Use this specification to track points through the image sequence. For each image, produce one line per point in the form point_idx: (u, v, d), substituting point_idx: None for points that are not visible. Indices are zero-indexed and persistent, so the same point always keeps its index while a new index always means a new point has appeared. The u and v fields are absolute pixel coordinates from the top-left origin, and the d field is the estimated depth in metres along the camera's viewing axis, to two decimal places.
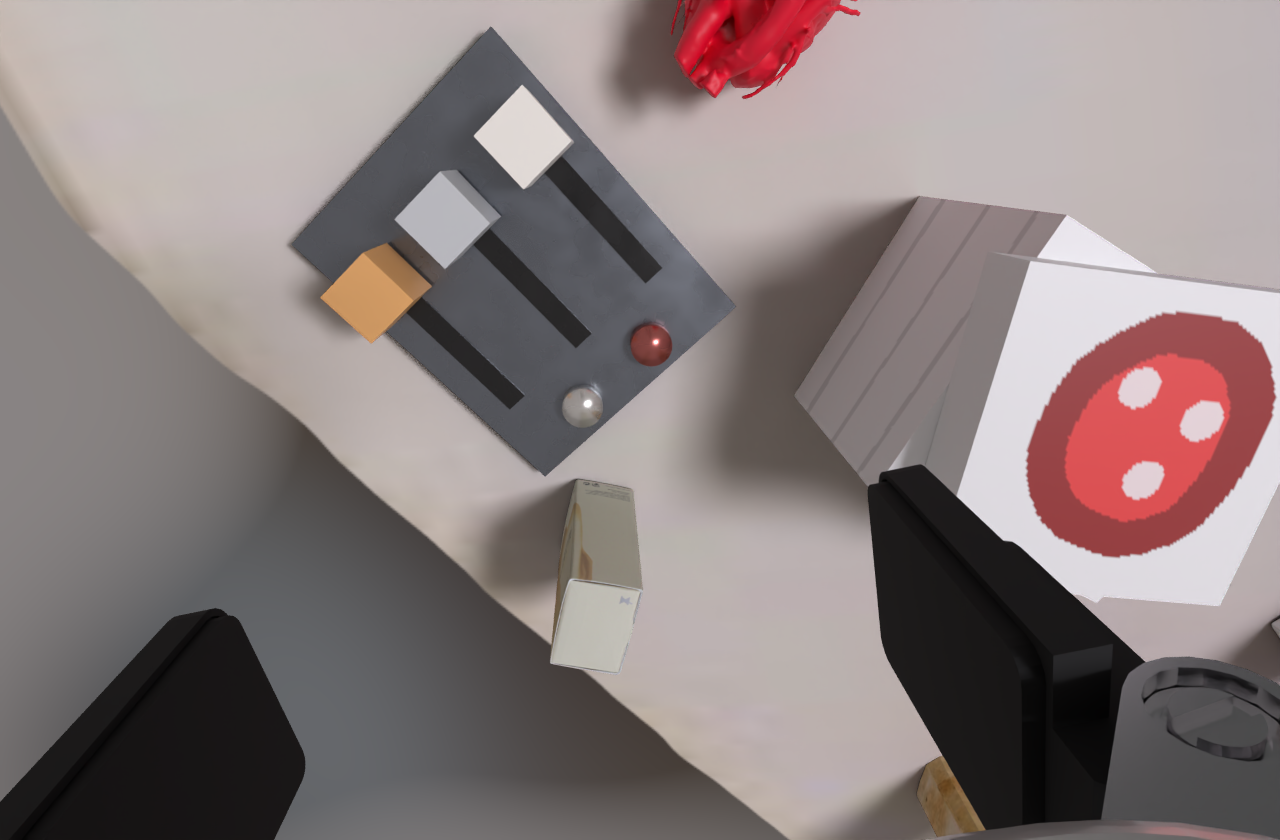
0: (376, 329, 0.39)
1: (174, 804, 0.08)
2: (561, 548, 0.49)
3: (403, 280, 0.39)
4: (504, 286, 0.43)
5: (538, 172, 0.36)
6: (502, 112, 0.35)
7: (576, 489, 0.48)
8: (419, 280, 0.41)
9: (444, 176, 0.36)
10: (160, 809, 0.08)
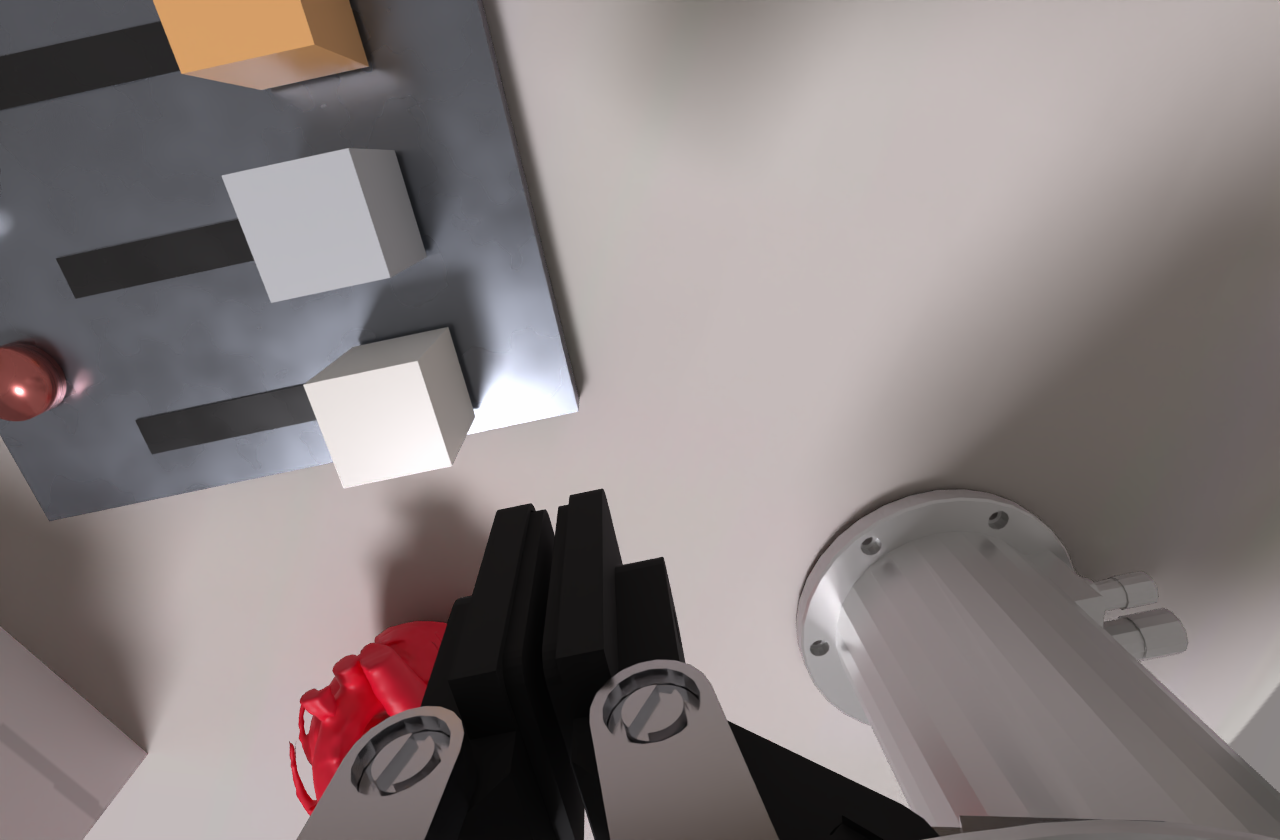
0: None
1: None
2: None
3: (250, 70, 0.19)
4: (215, 208, 0.24)
5: (319, 419, 0.21)
6: (428, 420, 0.21)
7: None
8: (270, 82, 0.21)
9: (380, 278, 0.20)
10: None
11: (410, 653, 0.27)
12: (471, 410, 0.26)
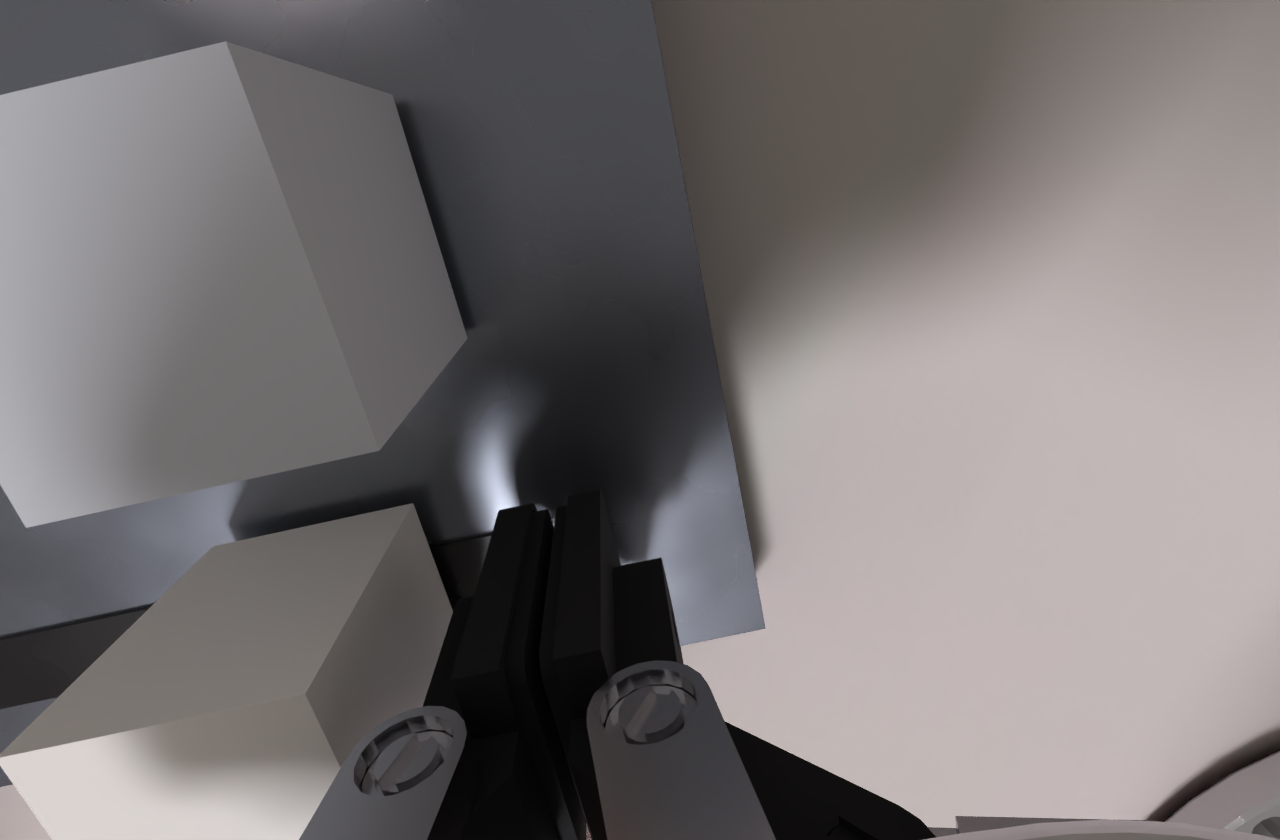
0: None
1: None
2: None
3: None
4: None
5: (55, 831, 0.08)
6: None
7: None
8: None
9: (348, 452, 0.07)
10: None
11: None
12: None
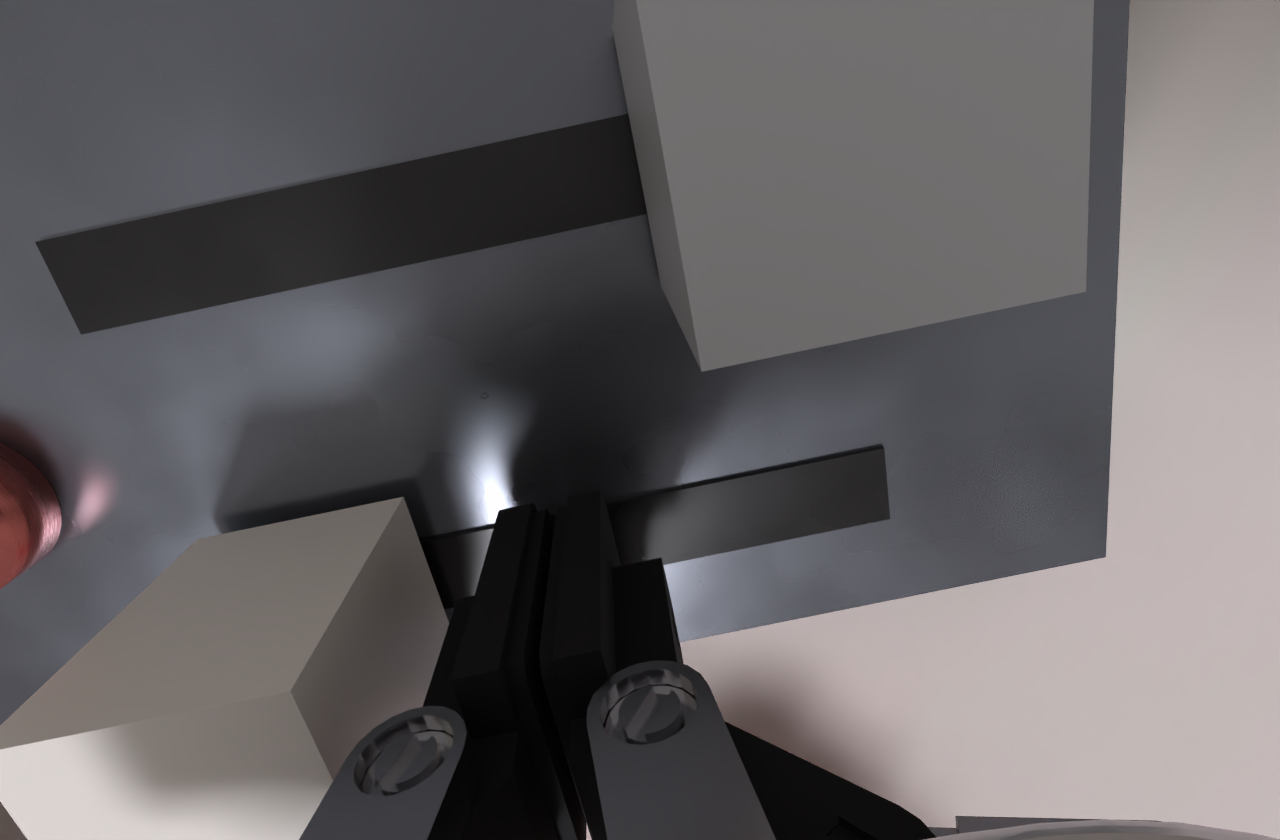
0: None
1: None
2: None
3: None
4: (414, 123, 0.10)
5: (31, 831, 0.08)
6: None
7: None
8: None
9: (1045, 295, 0.06)
10: None
11: None
12: None
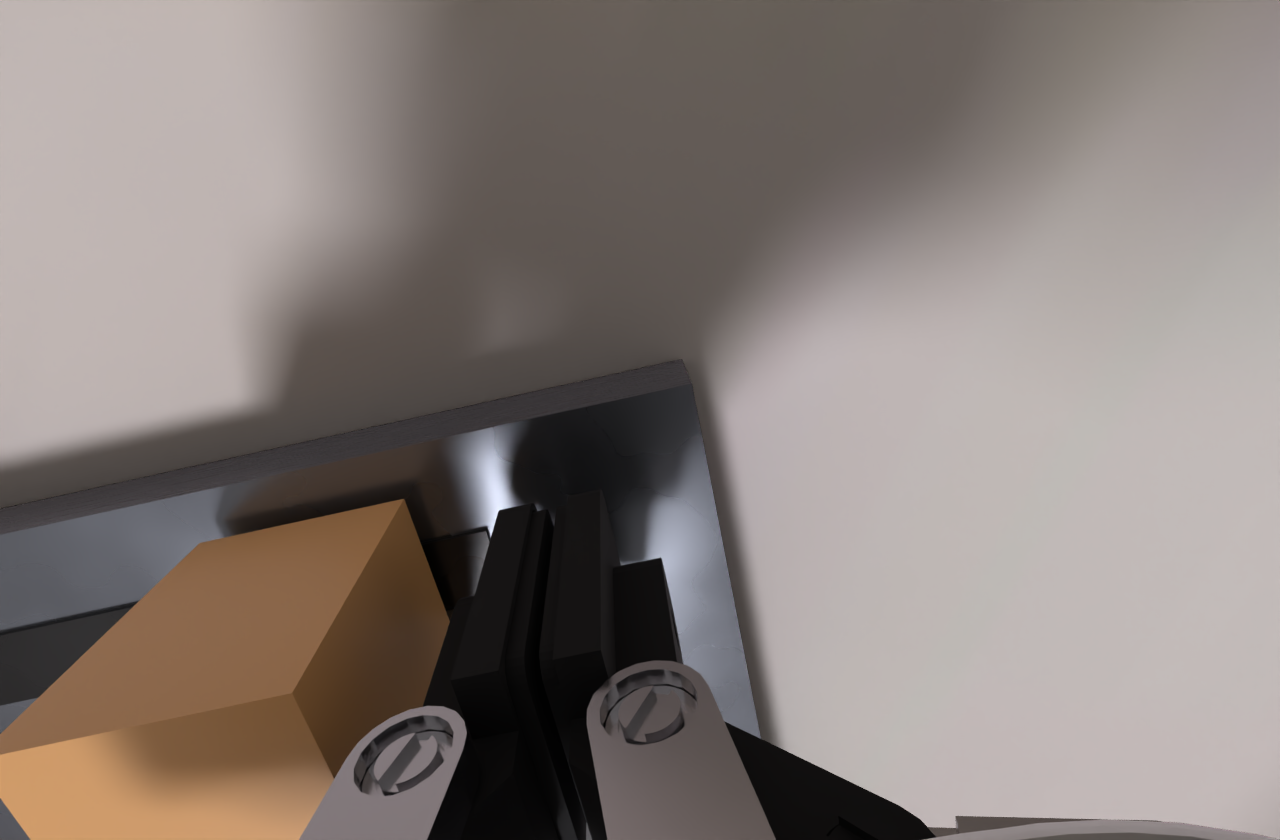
0: (41, 810, 0.08)
1: None
2: None
3: None
4: None
5: None
6: None
7: None
8: None
9: None
10: None
11: None
12: None
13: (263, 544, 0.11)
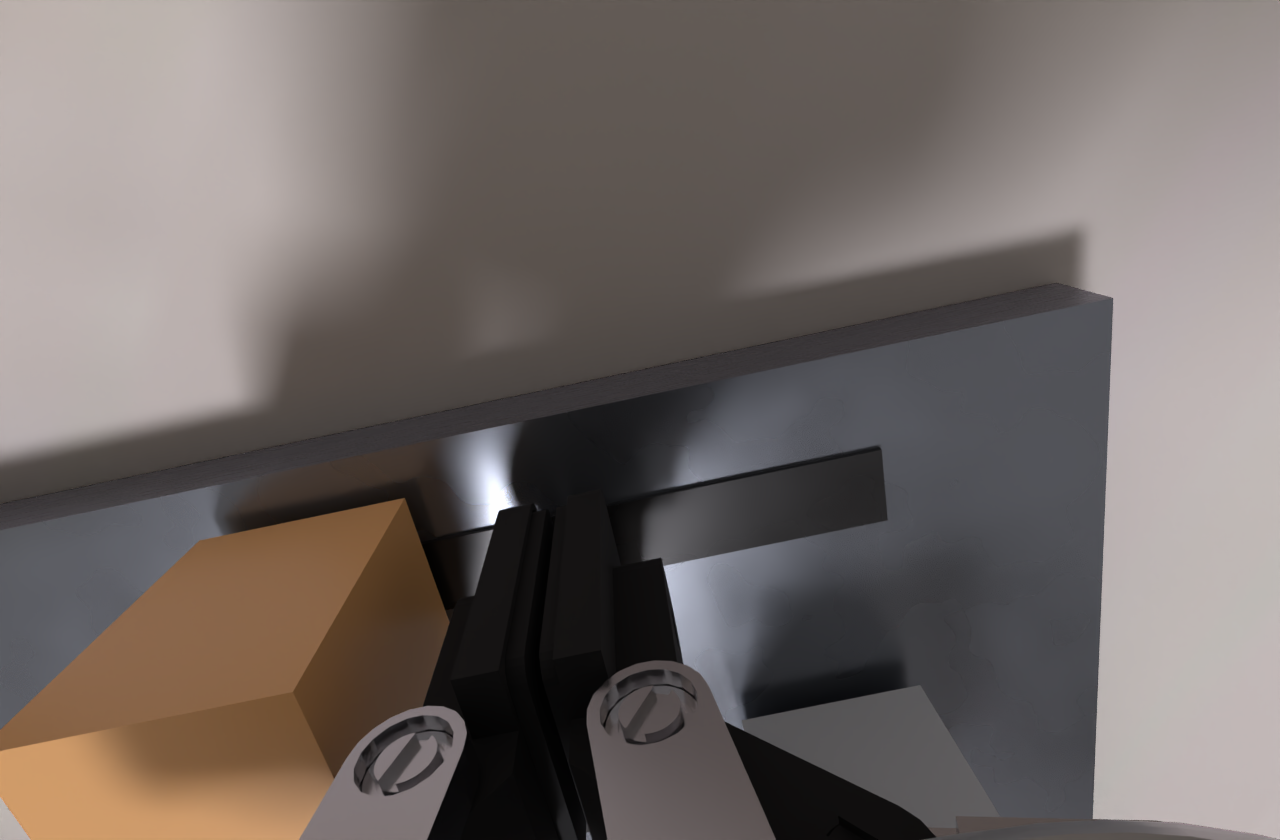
0: (40, 807, 0.08)
1: None
2: None
3: None
4: None
5: None
6: None
7: None
8: None
9: None
10: None
11: None
12: None
13: (263, 542, 0.11)
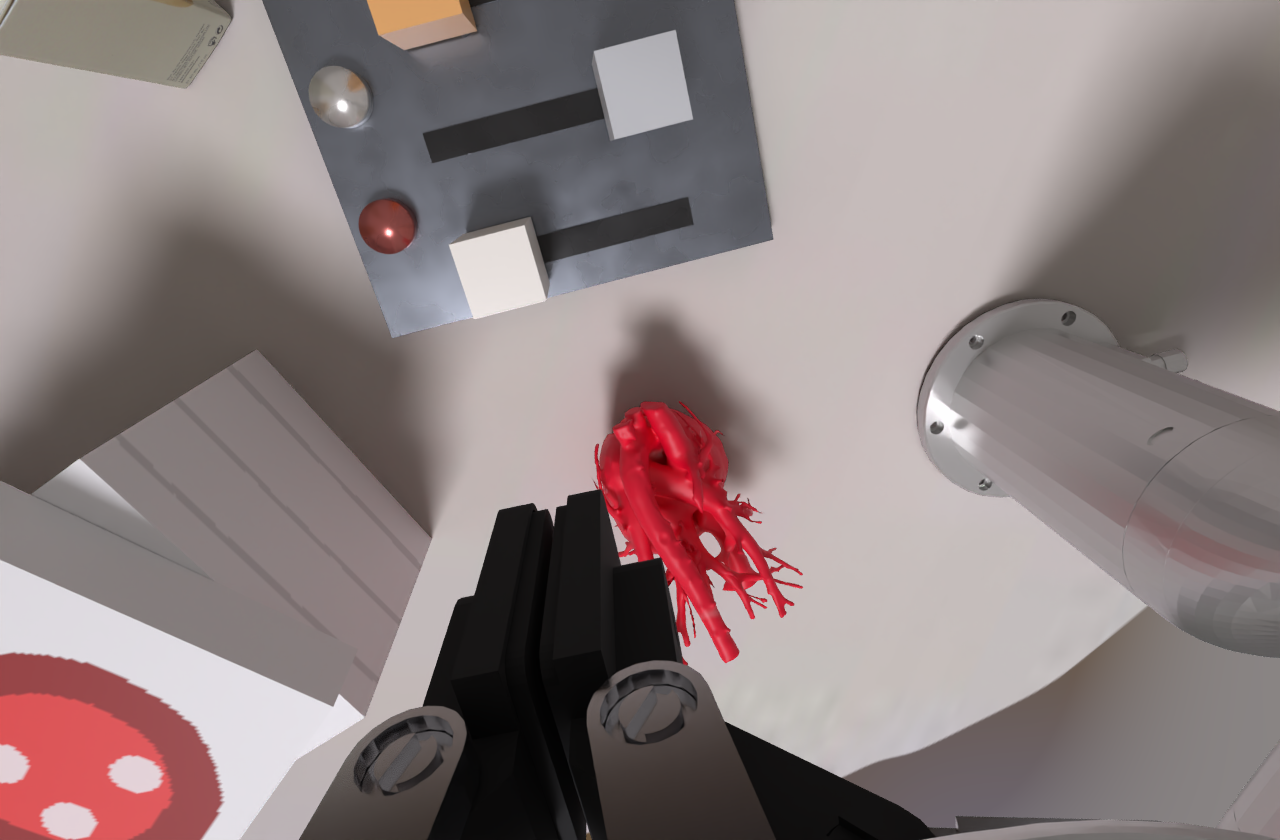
0: None
1: None
2: None
3: (414, 33, 0.29)
4: (534, 93, 0.34)
5: (458, 269, 0.32)
6: (531, 267, 0.32)
7: (215, 12, 0.31)
8: (414, 43, 0.32)
9: (685, 120, 0.30)
10: None
11: None
12: (548, 278, 0.36)
13: None
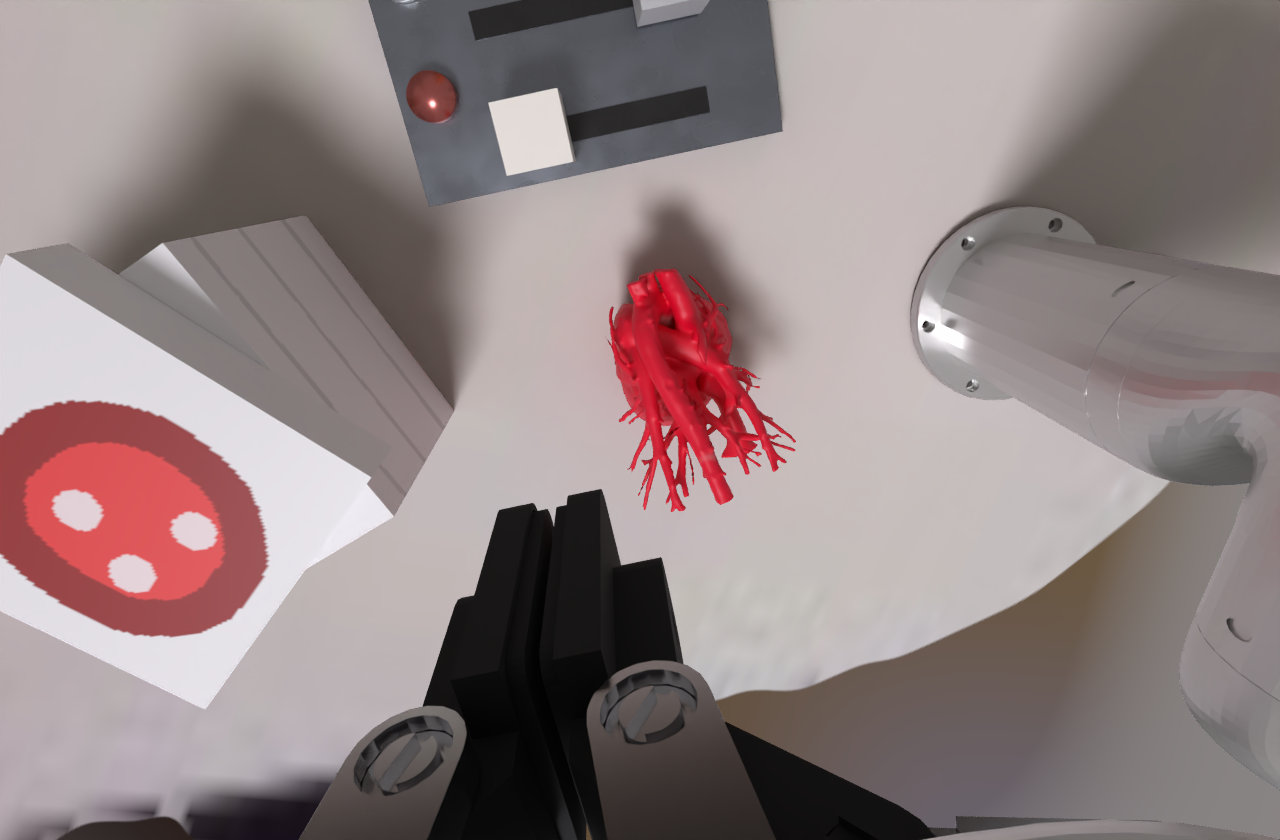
0: None
1: None
2: None
3: None
4: None
5: (495, 127, 0.35)
6: (561, 128, 0.35)
7: None
8: None
9: None
10: None
11: None
12: (574, 155, 0.40)
13: None
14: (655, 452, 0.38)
